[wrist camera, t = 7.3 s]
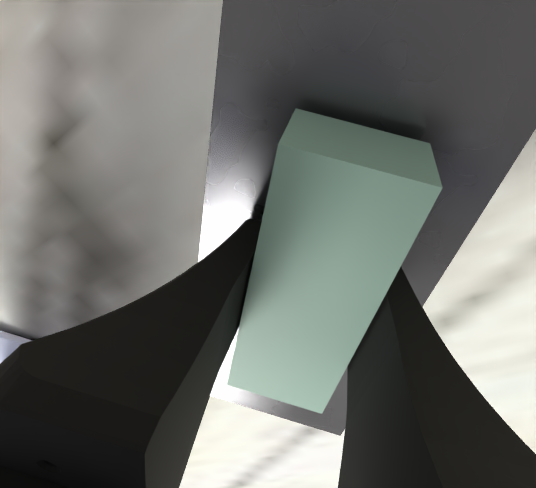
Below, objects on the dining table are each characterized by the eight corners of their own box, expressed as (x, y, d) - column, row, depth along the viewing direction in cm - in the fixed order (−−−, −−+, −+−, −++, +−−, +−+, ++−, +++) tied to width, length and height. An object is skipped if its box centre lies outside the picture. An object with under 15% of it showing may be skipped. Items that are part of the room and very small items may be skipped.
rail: (343, 385, 19) (340, 435, 17) (204, 343, 19) (185, 387, 17) (617, -109, 8) (697, -127, 6) (275, -184, 8) (245, -225, 6)
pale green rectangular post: (335, 298, 16) (322, 413, 12) (263, 277, 16) (227, 384, 12) (418, 101, 11) (442, 187, 7) (312, 74, 11) (278, 143, 7)
